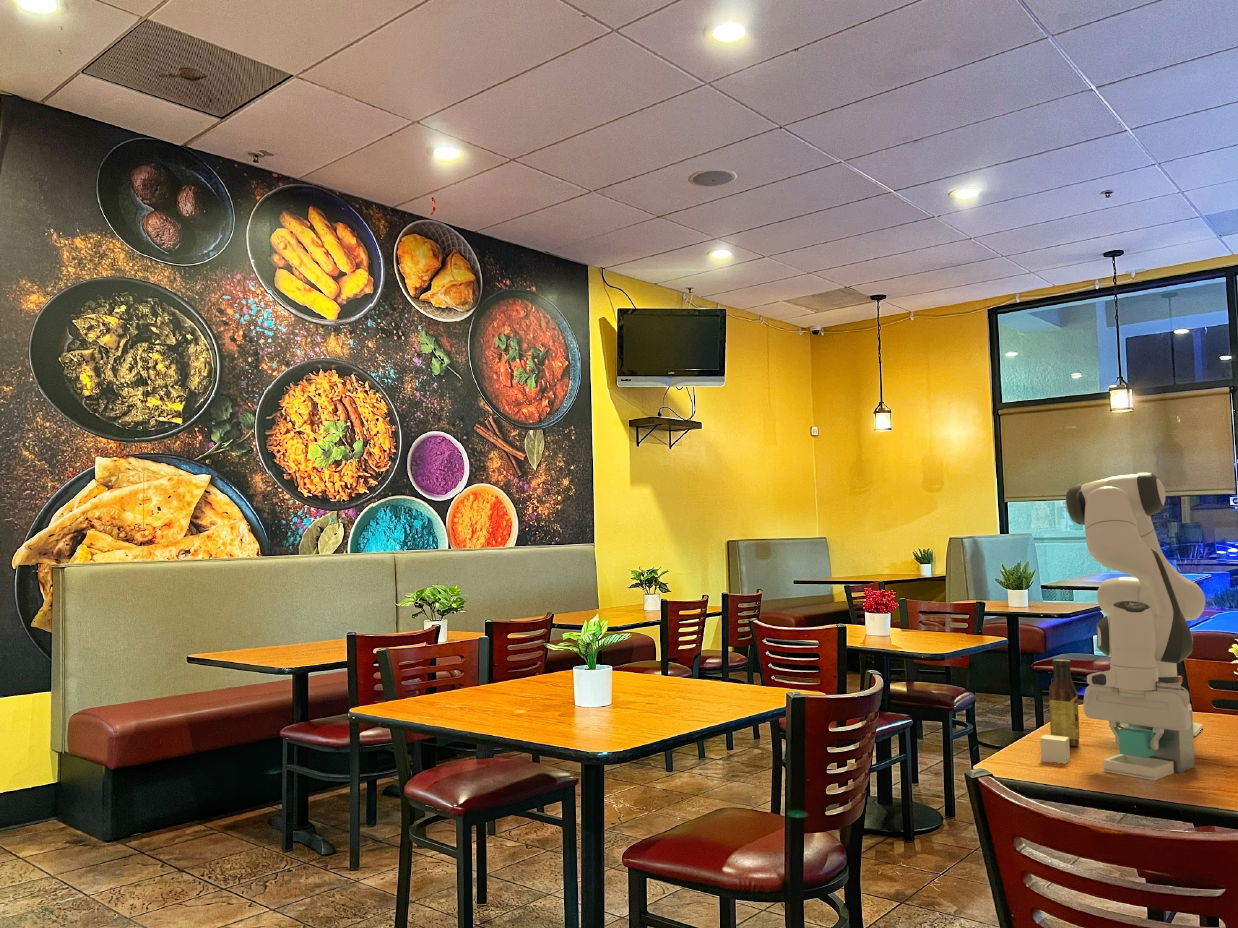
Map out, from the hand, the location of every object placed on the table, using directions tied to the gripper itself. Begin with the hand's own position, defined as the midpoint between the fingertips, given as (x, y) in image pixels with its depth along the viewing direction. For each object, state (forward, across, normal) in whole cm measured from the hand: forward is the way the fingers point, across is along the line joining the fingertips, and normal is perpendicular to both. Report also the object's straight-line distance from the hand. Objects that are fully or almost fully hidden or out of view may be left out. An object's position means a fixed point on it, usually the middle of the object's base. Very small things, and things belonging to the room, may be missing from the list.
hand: (1136, 746), depth 197 cm
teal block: (+2, 0, 0) cm, 2 cm away
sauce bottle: (+6, +22, -15) cm, 27 cm away
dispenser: (+5, -1, -10) cm, 11 cm away
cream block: (+5, +16, +3) cm, 17 cm away
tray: (+5, 0, 0) cm, 5 cm away
